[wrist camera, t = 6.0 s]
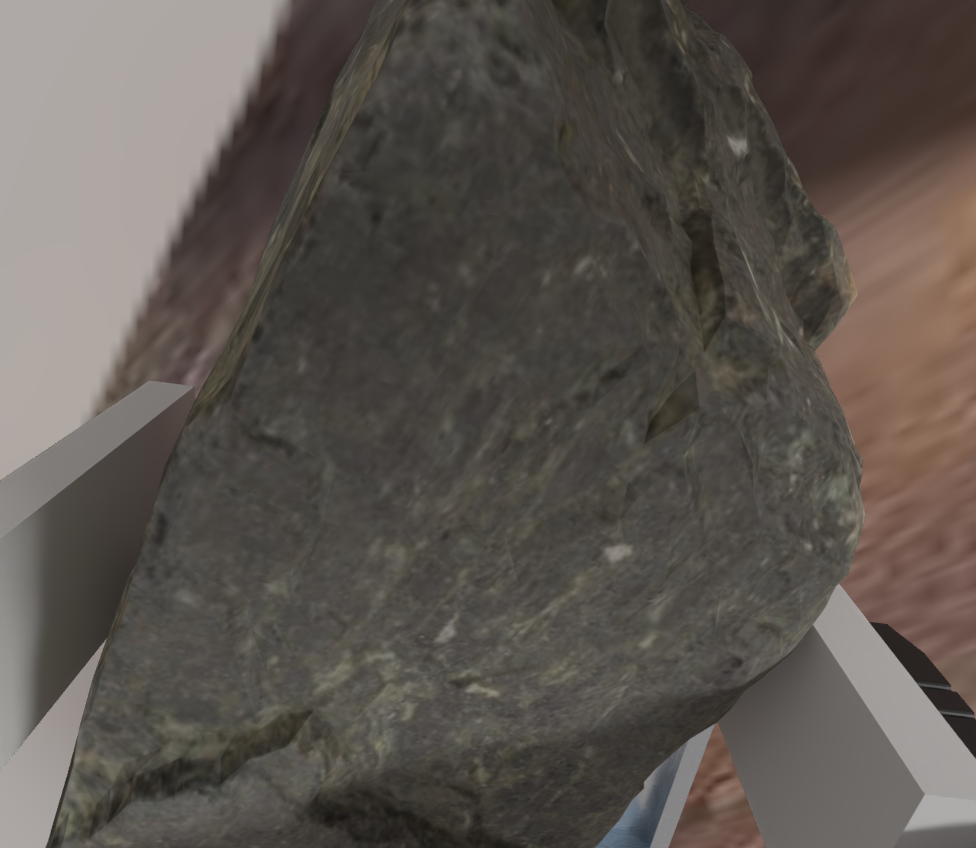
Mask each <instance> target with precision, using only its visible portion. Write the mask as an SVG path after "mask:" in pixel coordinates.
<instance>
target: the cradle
mask: <svg viewBox="0 0 976 848" xmlns="http://www.w3.org/2000/svg"><path fill="white" fill-rule="evenodd" d="M713 727H714V725H712V726H710V727H709V728H707V729H705V730H704V731H702V732H701V733H699V734H697V735H696V736H694V737H692V738H691V739H689V740H688V741H687V742H686V743H685V744H683V745H682V746H681V747H680V748H679V749H678V750H677V751H675V752H674V753H673V754H672V755H671V756H670V757H669V758H668V759H666V760H665V761H664V762H663V763H662V764H661V765H660V766H658V767H657V768H656V769H655V770H654V771H653V772H652V774H651V775H650V776H649V777H648V778H647V779H646V781H645V782H644V789H643V790H642V791H641V792H640V793H639V794H638V795H637V796H636V797H635V798H634V799H633V800H632V801H631V803H630V804H629V806H628V808H627V809H626V811H625V812H624V814H623V816H622V817H621V819H620V820H619V821H618V822H617V823H616V824H615V826H614V827H613V828H612V829H611V830H610V831H609V833H608V834H607V835H606V836H605V837H604V838H603V840H602V841H601V842H600V843H599V844H598V845H597V846H596V847H595V848H668V847H669V844H670V842H671V839H672V836H673V834H674V831H675V828H676V826H677V823H678V820H679V818H680V815H681V812H682V810H683V807H684V804H685V802H686V799H687V796H688V794H689V791H690V788H691V785H692V783H693V780H694V777H695V775H696V772H697V769H698V767H699V764H700V761H701V759H702V756H703V753H704V751H705V748H706V745H707V743H708V740H709V737H710V735H711V732H712V729H713Z"/></svg>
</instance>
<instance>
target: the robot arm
mask: <svg viewBox="0 0 976 848" xmlns="http://www.w3.org/2000/svg"><path fill="white" fill-rule="evenodd" d="M194 401H195V392H194V386H187V385H180V384H172V383H165V382H157V381H148V382H147V383H145V384H144V385H142V386H141V387H139V388H138V389H136V390H135V391H133V392H132V393H130V394H129V395H127V396H126V397H124V398H123V399H121V400H120V401H118V402H117V403H115V404H114V405H112V406H111V407H109V408H108V409H106V410H105V411H103V412H102V413H100V414H99V415H97V416H96V417H94V418H93V419H91V420H90V421H88V422H87V423H85V424H84V425H82V426H81V427H79V428H78V429H77V430H75V431H74V432H72V433H71V434H69V435H68V436H66V437H65V438H63V439H62V440H60V441H59V442H57V443H56V444H54V445H53V446H51V447H50V448H48V449H47V450H45V451H44V452H42V453H41V454H39V455H38V456H36V457H35V458H33V459H32V460H30V461H29V462H27V463H26V464H24V465H23V466H21V467H20V468H18V469H17V470H15V471H14V472H12V473H11V474H9V475H8V476H6V477H5V478H3V479H2V480H0V771H1V770H2V769H3V767H4V766H5V765H6V764H7V762H8V761H9V760H10V758H11V757H12V756H13V755H14V754H15V752H16V751H17V750H18V749H19V747H20V746H21V745H22V744H23V742H24V741H25V740H26V739H27V737H28V736H29V735H30V734H31V732H32V731H33V730H34V728H35V727H36V726H37V725H38V724H39V722H40V721H41V720H42V718H43V717H44V716H45V715H46V713H47V712H48V711H49V709H51V707H52V706H53V705H54V703H55V702H56V701H57V700H58V698H59V697H60V696H61V695H62V693H63V692H64V691H65V690H66V688H67V687H68V686H69V685H70V683H71V682H72V681H73V680H74V678H75V677H76V676H77V675H78V673H79V672H80V671H81V669H82V668H83V667H84V666H85V665H86V663H87V662H88V661H89V660H90V658H91V657H92V656H93V655H94V653H95V652H96V651H97V650H98V648H99V647H100V646H101V645H102V643H103V642H104V641H105V640H106V638H107V637H108V634H109V631H110V629H111V626H112V623H113V620H114V617H115V615H116V612H117V609H118V606H119V603H120V601H121V598H122V595H123V592H124V589H125V587H126V584H127V581H128V578H129V575H130V573H131V571H132V570H133V568H134V567H135V565H136V562H137V558H138V554H139V549H140V545H141V541H142V537H143V533H144V530H145V527H146V524H147V521H148V518H149V514H150V511H151V508H152V505H153V502H154V498H155V495H156V492H157V489H158V486H159V483H160V479H161V476H162V473H163V470H164V467H165V464H166V462H167V460H168V457H169V455H170V453H171V451H172V449H173V447H174V444H175V442H176V440H177V438H178V436H179V434H180V431H181V429H182V427H183V425H184V423H185V421H186V418H187V416H188V414H189V412H190V410H191V408H192V405H193V403H194ZM718 724H719V726H720V729H721V732H722V734H723V737H724V740H725V742H726V745H727V747H728V750H729V753H730V755H731V758H732V761H733V763H734V766H735V768H736V771H737V774H738V776H739V779H740V782H741V784H742V787H743V789H744V792H745V795H746V797H747V800H748V803H749V805H750V808H751V810H752V813H753V816H754V818H755V821H756V824H757V826H758V829H759V831H760V834H761V837H762V839H763V842H764V845H765V847H766V848H976V720H975V718H974V712H973V711H972V710H971V708H970V707H969V706H968V705H967V704H966V702H965V701H964V700H963V699H962V698H961V697H960V695H959V694H958V693H957V692H953V691H951V685H950V683H949V682H948V681H947V680H946V679H945V678H944V676H943V675H942V674H941V673H940V672H939V670H938V669H937V668H936V667H935V666H934V664H933V663H932V662H931V661H930V660H929V659H928V657H927V656H926V655H925V654H924V653H923V652H922V651H921V650H919V649H918V648H917V647H915V646H914V645H913V644H912V643H910V642H909V641H908V640H906V639H905V638H904V637H903V636H901V635H900V634H899V633H897V632H896V631H895V630H894V629H892V628H891V627H890V626H888V625H887V624H882V623H874V622H868V620H867V619H866V618H865V616H864V615H863V614H862V613H861V611H860V610H859V609H858V608H857V606H856V605H855V604H854V602H853V601H852V600H851V599H850V597H849V596H848V595H847V593H846V592H845V591H844V590H843V588H842V587H841V586H840V584H838V585H837V586H836V587H835V589H834V591H833V593H832V595H831V597H830V599H829V601H828V603H827V605H826V607H825V609H824V610H823V612H822V613H821V614H820V616H819V617H818V618H817V620H816V621H815V622H814V624H813V625H812V626H811V628H810V629H809V630H808V632H807V633H806V634H805V636H804V637H803V638H802V640H801V641H800V642H799V644H798V645H797V646H796V648H795V649H794V650H793V652H791V653H790V654H789V655H788V656H787V657H786V658H785V659H783V660H782V661H781V662H780V663H779V664H778V665H776V666H775V667H774V668H773V669H772V670H771V671H770V672H768V673H767V674H766V675H765V676H764V677H763V678H761V679H760V680H759V681H757V682H756V683H755V684H753V685H752V686H751V687H749V688H748V689H747V690H745V691H744V692H743V694H742V695H741V696H740V698H739V699H738V700H737V702H736V703H735V704H734V705H733V707H732V708H731V709H730V710H729V711H728V712H727V713H726V714H725V715H724V716H723V717H722V718H721V719H720V720H719V721H718Z"/></svg>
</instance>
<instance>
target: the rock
mask: <svg viewBox="0 0 976 848" xmlns="http://www.w3.org/2000/svg"><path fill="white" fill-rule="evenodd" d="M685 4H686V0H376V2H375V4H374V7H373V9H372V11H371V14H370V16H369V19H368V21H367V24H366V26H365V28H364V30H363V32H362V34H361V36H360V37H359V39H358V41H357V43H356V44H355V46H354V48H353V50H352V52H351V53H350V55H349V57H348V59H347V61H346V62H345V64H344V66H343V68H342V70H341V72H340V74H339V76H338V78H337V80H336V82H335V84H334V86H333V88H332V90H331V93H330V95H329V97H328V99H327V101H326V103H325V106H324V108H323V110H322V112H321V114H320V116H319V119H318V121H317V123H316V125H315V127H314V129H313V132H312V134H311V138H310V140H309V142H308V145H307V147H306V149H305V152H304V154H303V156H302V159H301V161H300V163H299V166H298V168H297V170H296V172H295V175H294V177H293V179H292V182H291V184H290V186H289V188H288V190H287V193H286V195H285V197H284V199H283V201H282V204H281V206H280V208H279V210H278V213H277V215H276V217H275V219H274V221H273V224H272V227H271V231H270V234H269V237H268V240H267V244H266V247H265V250H264V253H263V257H262V260H261V263H260V266H259V269H258V271H257V274H256V277H255V280H254V283H253V286H252V289H251V292H250V295H249V297H248V300H247V302H246V305H245V307H244V310H243V312H242V314H241V316H240V318H239V320H238V322H237V324H236V326H235V328H234V330H233V332H232V334H231V336H230V338H229V340H228V342H227V344H226V346H225V348H224V349H223V351H222V353H221V355H220V357H219V359H218V361H217V363H216V365H215V366H214V368H213V370H212V371H211V373H210V375H209V376H208V378H207V380H206V381H205V383H204V385H203V387H202V389H201V390H200V392H199V394H198V396H197V398H196V400H195V401H194V403H193V405H192V408H191V410H190V412H189V414H188V416H187V418H186V421H185V423H184V425H183V427H182V429H181V431H180V434H179V436H178V438H177V440H176V442H175V444H174V447H173V449H172V451H171V453H170V455H169V457H168V460H167V462H166V464H165V467H164V470H163V473H162V476H161V479H160V483H159V486H158V489H157V492H156V495H155V498H154V502H153V505H152V508H151V511H150V514H149V518H148V521H147V524H146V527H145V530H144V533H143V537H142V541H141V545H140V549H139V554H138V558H137V562H136V565H135V567H134V568H133V570H132V571H131V573H130V575H129V578H128V581H127V584H126V587H125V589H124V592H123V595H122V598H121V601H120V603H119V606H118V609H117V612H116V615H115V617H114V620H113V623H112V626H111V629H110V631H109V634H108V637H107V640H106V643H105V646H104V648H103V651H102V654H101V657H100V660H99V662H98V666H97V668H96V671H95V674H94V677H93V680H92V684H91V687H90V691H89V694H88V698H87V702H86V705H85V709H84V713H83V716H82V720H81V723H80V728H79V733H78V736H77V740H76V744H75V748H74V752H73V755H72V759H71V763H70V767H69V770H68V774H67V778H66V781H65V785H64V788H63V791H62V795H61V798H60V802H59V805H58V809H57V812H56V815H55V819H54V822H53V826H52V830H51V833H50V837H49V840H48V843H47V845H46V848H595V847H596V846H597V845H598V844H599V843H600V842H601V841H602V840H603V838H604V837H605V836H606V835H607V834H608V833H609V831H610V830H611V829H612V828H613V827H614V826H615V824H616V823H617V822H618V821H619V820H620V819H621V817H622V816H623V814H624V812H625V811H626V809H627V808H628V806H629V804H630V803H631V801H632V800H633V799H634V798H635V797H636V796H637V795H638V794H639V793H640V792H641V791H642V790H643V789H644V782H645V781H646V779H647V778H648V777H649V776H650V775H651V774H652V772H653V771H654V770H655V769H656V768H657V767H658V766H660V765H661V764H662V763H663V762H664V761H665V760H666V759H668V758H669V757H670V756H671V755H672V754H673V753H674V752H675V751H677V750H678V749H679V748H680V747H681V746H682V745H683V744H685V743H686V742H687V741H688V740H689V739H691V738H692V737H694V736H696V735H697V734H699V733H701V732H702V731H704V730H705V729H707V728H709V727H710V726H712V725H714V724H715V723H717V722H718V721H719V720H720V719H721V718H722V717H723V716H724V715H725V714H726V713H727V712H728V711H729V710H730V709H731V708H732V707H733V705H734V704H735V703H736V702H737V700H738V699H739V698H740V696H741V695H742V694H743V692H744V691H745V690H747V689H748V688H749V687H751V686H752V685H753V684H755V683H756V682H757V681H759V680H760V679H761V678H763V677H764V676H765V675H766V674H767V673H768V672H770V671H771V670H772V669H773V668H774V667H775V666H776V665H778V664H779V663H780V662H781V661H782V660H783V659H785V658H786V657H787V656H788V655H789V654H790V653H791V652H793V650H794V649H795V648H796V646H797V645H798V644H799V642H800V641H801V640H802V638H803V637H804V636H805V634H806V633H807V632H808V630H809V629H810V628H811V626H812V625H813V624H814V622H815V621H816V620H817V618H818V617H819V616H820V614H821V613H822V612H823V610H824V609H825V607H826V605H827V603H828V601H829V599H830V597H831V595H832V593H833V591H834V589H835V587H836V586H837V585H838V584H839V583H840V582H841V581H842V580H843V579H844V577H845V576H846V575H847V574H848V573H849V570H850V567H851V563H852V560H853V557H854V553H855V550H856V547H857V546H858V543H859V540H860V536H861V532H862V529H863V525H864V521H865V512H864V505H863V499H862V493H861V486H860V483H861V478H862V470H861V469H862V464H863V459H862V457H861V455H860V454H859V452H858V450H857V449H856V447H855V444H854V441H853V438H852V435H851V432H850V429H849V426H848V424H847V421H846V419H845V416H844V414H843V411H842V409H841V407H840V405H839V403H838V401H837V399H836V397H835V395H834V393H833V391H832V389H831V386H830V383H829V380H828V377H827V375H826V373H825V371H824V369H823V367H822V365H821V363H820V361H819V359H818V357H817V355H816V353H815V350H816V349H817V348H818V346H819V345H820V344H821V343H822V342H823V341H824V340H825V339H826V338H827V337H828V336H829V335H830V334H831V333H832V332H833V330H834V329H835V327H836V326H837V324H838V323H839V321H840V320H841V319H842V317H843V316H844V314H845V313H846V311H847V310H848V308H849V307H850V305H851V304H852V302H853V301H854V299H855V298H856V297H857V295H858V293H857V290H856V287H855V284H854V280H853V275H852V270H851V268H850V265H849V263H848V261H847V259H846V257H845V254H844V251H843V248H842V245H841V242H840V239H839V237H838V234H837V231H836V228H835V226H834V225H832V224H831V223H830V222H828V221H827V220H826V219H825V218H823V217H822V216H821V215H820V214H819V213H818V212H817V211H816V209H815V208H814V207H813V205H812V204H811V202H810V200H809V198H808V196H807V194H806V192H805V191H804V188H803V185H802V183H801V180H800V177H799V175H798V172H797V170H796V167H795V165H794V164H793V163H792V162H791V160H790V159H789V158H788V157H787V155H786V153H785V151H784V148H783V146H782V143H781V141H780V140H781V139H780V136H779V134H778V132H777V130H776V128H775V126H774V123H773V121H772V119H771V117H770V115H769V114H768V112H767V110H766V108H765V107H764V105H763V103H762V101H761V100H760V98H759V96H758V94H757V93H756V91H755V89H754V87H753V83H752V72H751V70H750V69H749V67H748V66H747V64H746V63H745V61H744V60H743V58H742V57H741V55H740V54H739V52H738V51H737V49H736V48H735V47H734V46H733V45H732V44H731V43H730V42H729V41H728V39H727V38H726V37H725V36H724V35H723V34H722V33H721V32H715V31H714V30H713V29H712V28H711V27H710V26H709V25H708V24H707V23H706V22H705V21H704V19H703V18H702V17H701V16H700V15H698V14H696V13H694V12H692V11H690V10H688V9H687V8H685Z"/></svg>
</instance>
